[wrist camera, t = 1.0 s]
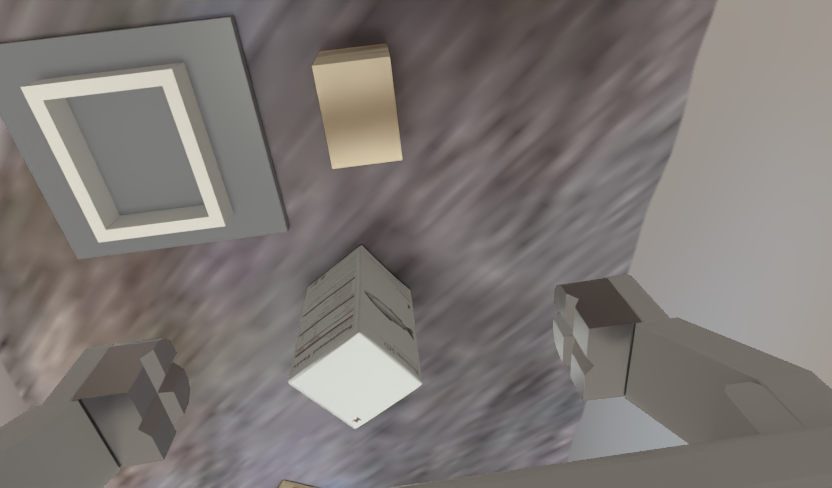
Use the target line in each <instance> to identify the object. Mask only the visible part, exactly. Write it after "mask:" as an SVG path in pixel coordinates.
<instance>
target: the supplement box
mask: <svg viewBox="0 0 832 488" xmlns="http://www.w3.org/2000/svg"><path fill="white" fill-rule="evenodd" d="M288 383H289V384H290V385H291V386H293V387H294V388H295V389H297V390H298V391H300V392H302V393H303V394H304V395H306V396H307V397H309V398H310V399H312V400H313V401H315V402H316V403H318V404H319V405H320V406H322V407H323V408H324V409H326V410H328V411H329V412H331V413H332V414H334V415H335V416H337V417H338V418H339V419H341V420H342V421H344V422H345V423H347V424H348V425H349V426H351V427H352V428H354V429H356V428H358V427H359V426H361V425H363V424H364V423H366V422H367V421H369V420H370V419H372V418H373V417H375V416H376V415H378V414H379V413H381V412H382V411H384V410H385V409H387V408H388V407H390V406H391V405H393V404H394V403H396V402H397V401H399V400H400V399H402V398H403V397H405V396H406V395H408V394H409V393H411V392H412V391H414V390H415V389H417V388H418V387H419V386H421V385H422V379H421V371H420V363H419V355H418V346H417V339H416V330H415V322H414V313H413V305H412V297H411V291H410V289H408V288H407V287H406V286H405V285H404V284H402V283H401V282H400V281H399V280H398V279H397V278H396V277H394V276H393V275H392V274H391V273H390V272H389V271H388V270H387V269H386V268H385V267H384V266H383V265H382V264H381V263H380V262H378V261H377V260H376V259H375V258H374V257H373V256H372V255H371V254H370V253H369V252H368V251H367V250H366V249H365V248H364V247H363V246H362V245H360V246H359V247H358V248H356V249H355V250H354V251H352V252H351V253H350V254H349V255H348V256H346V257H345V258H344V259H342V260H341V261H340V262H339V263H337V264H336V265H335V266H334V267H332V268H331V269H330V270H329V271H327V272H326V273H325V274H323V275H322V276H321V277H320V278H318V279H317V280H316V281H315V282H313V283H312V284H311V285H310V286H309V287H308V288H307V292H306V297H305V302H304V306H303V311H302V316H301V321H300V326H299V331H298V336H297V341H296V346H295V351H294V356H293V361H292V366H291V370H290V375H289V378H288Z"/></svg>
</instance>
